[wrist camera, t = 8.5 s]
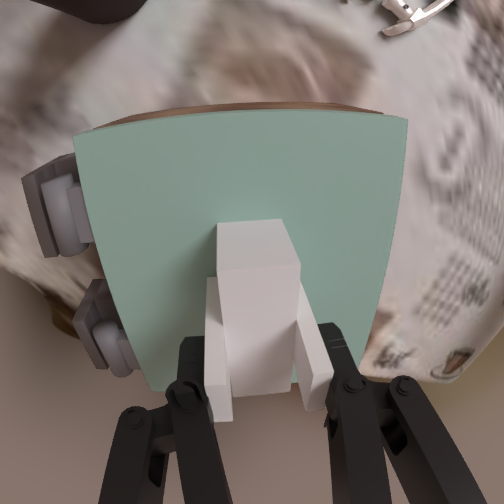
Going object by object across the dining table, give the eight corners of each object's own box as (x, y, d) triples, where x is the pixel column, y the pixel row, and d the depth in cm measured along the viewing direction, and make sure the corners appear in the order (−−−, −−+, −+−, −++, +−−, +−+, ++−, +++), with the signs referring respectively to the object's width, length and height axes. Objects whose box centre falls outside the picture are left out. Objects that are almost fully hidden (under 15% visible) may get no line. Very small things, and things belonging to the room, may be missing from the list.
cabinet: (335, 103, 22) (401, 117, 13) (323, 288, 31) (356, 362, 22) (85, 124, 20) (15, 152, 12) (127, 303, 30) (103, 380, 21)
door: (391, 115, 14) (461, 135, 9) (350, 357, 23) (373, 413, 18) (44, 141, 12) (-22, 173, 8) (122, 374, 22) (110, 434, 17)
